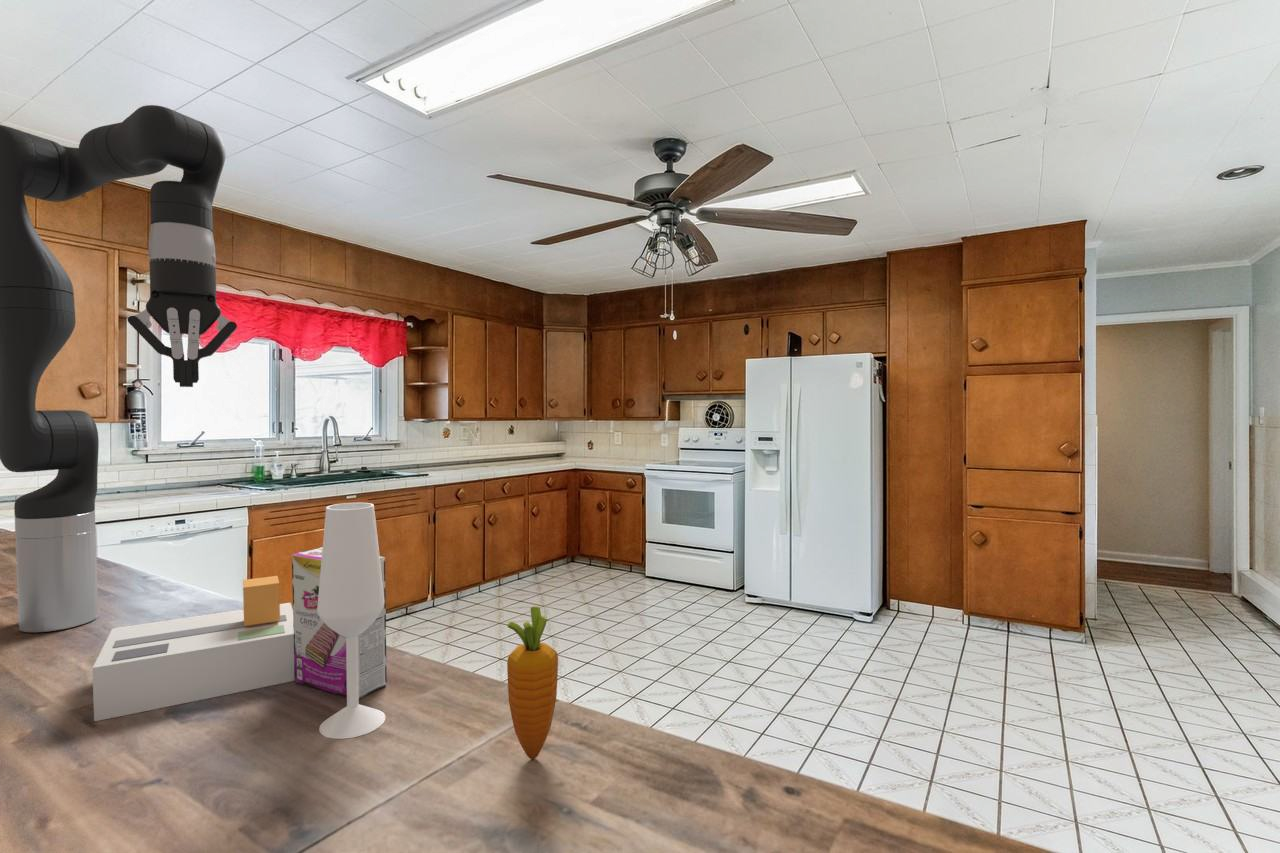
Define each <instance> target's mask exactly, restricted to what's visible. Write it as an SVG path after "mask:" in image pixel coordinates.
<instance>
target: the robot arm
mask: <svg viewBox="0 0 1280 853" xmlns="http://www.w3.org/2000/svg"><path fill="white" fill-rule="evenodd" d="M225 162H226V147H225V144H224V141H223V138H222V137H221V135H220V134H219V132H218V131H217V130H216V129H215V128H214V127H212V126H211V125H209V124H206V123H205V122H202V121H200V120H197V119H195V118H192V117H191V116H188V115H185V114H183V113H181V112H178V111H176V110H174V109H171V108H169V107H167V106H162V105H157V104H154V105H153V104H150V105H149V104H146V105H142V106H139V107H138V108H137V109H136V110H135V111H134V112H132V113H131V114H130V115H128V116H127V117H126V118H125V119H124V120H123V121H122V122H116V123H111V124H105V125H102V126H99V127H98V126H97V127H95V128H93V129H91V130H89V131H88V132H86V133H85V134H84V135H83V136H82V137H81V139H80V141H79V144H78V147H72V146H71V147H70V146H66V145H61V144H60V143H59V142H56V141H54V140H52V139H48V138H44V137H41V136H38V135H35V134H32V133H29V132H26V131H23V130H21V129H18V128H13V127H10V126H6V125H3V124H0V462H1V464H2V466H4V469H6V470H8V471H10V472H12V473H31V472H45V471H57V474H56V476H55V477H54V479H53V480H52V481H50V482H49V483H47V484H46V485H44V486H42V487H40V488H38V489H35V490H33V491H31V492H27V493H26V494H23V495H20V496H19V497H18V498H16V499H15V501H14V507H13V508H14V531H15V532H14V536H15V556H16V558H15V559H16V560H15V561H16V581H17V582H16V583H17V584H16V586H17V614H18V630H19V631H20V632H24V633H45V632H52V631H53V632H55V631H60V630H65V629H71V628H74V627H77V626H80V625H81V626H82V625H84V624H88V623H90V622H92V621H94V620H95V619H97V618H98V617H99V601H98V600H99V599H98V571H97V570H98V567H97V566H98V565H97V564H98V563H97V562H98V561H97V536H96V534H97V533H96V504H95V503H96V497H97V493H98V471H99V470H98V467H99V466H98V465H99V445H100V444H99V432H98V427H97V424H96V422H95V420H94V418H93V417H92V415H90V414H89V413H88V412H86V411H83V410H77V409H74V410H73V409H67V410H66V409H65V410H64V409H60V410H59V409H58V410H56V409H55V410H53V409H52V410H50V409H49V410H47V409H46V410H36V399H37V392H38V388H39V387H38V386H39V383H40V380H41V378H42V376H43V374H44V372H45V371H46V369H47V368H48V366H49V365H50V364H51V362H52V361H53V360H54V359H55V357H56V356H57V355H58V353H59V352H60V351H61V350H62V349H63V347H64V346H65V345H66V344H67V342H68V340H69V338H71V336H72V334H73V333H74V329H75V327H76V308H75V296H74V295H75V294H74V287H73V283H72V280H71V278H70V276H69V275H68V273H67V271H66V269H64V267H63V266H62V264H61V262H60V261H59V260H58V259H57V258H56V256H55V255H54V254H53V252H52V251H51V250H50V248H49V247H48V246H47V244H46V243H45V242H44V240H43V239H42V238H41V237H40V235H39V233H38V231H37V230H36V229H35V226H34V225H33V222H32V220H31V217H30V214H29V211H28V207H27V203H26V199H25V196H26V197H30V198H34V199H37V200H42V201H46V202H53V203H54V202H55V203H58V202H59V203H60V202H66V201H70V200H73V199H76V198H79V197H81V196H82V195H85V194H86V193H90V192H91V191H93V190H96V189H98V188H100V187H103V186H104V185H106V184H107V185H108V184H109V183H111V182H114V181H119V180H125V179H131V178H138V177H144V176H150V175H153V174H154V175H155V174H157V173H159V172H161V171H163V170H165V169H166V167H167V166H168V165H169V166H172V167H176V168H178V169H182V171H183V172H182V173H183V175H182V178H181V180H178V181H177V180H161V181H156V182H155V183H153V184H152V186H151V188H150V192H149V203H150V204H149V205H150V206H149V207H150V212H149V214H150V230H149V237H148V238H149V239H148V251H147V254H148V255H147V256H148V259H149V260H148V261H149V264H148V265H149V299H148V301H146V303H145V309H144V310H143V311H141V312H138V313H137V314H136V315H130V316H128V318H127V322H128V323H129V325H131V327H132V328H133V329H134V330H135V331H136V333H137V334H139V335H140V337H142V338H143V339H144V340H145V341H146V342H147V344H149V346H151V348H152V349H154V350H155V352H156V353H157V354H160V355H161V356H164V357H165V356H166V357H169V358H171V360H172V369H173V370H172V372H173V373H172V374H173V380H174V382H175V383H177V384H178V383H179V387H180V388H193V387H194V384H197V383H198V382H199V381H200V380H199V379H200V376H199V374H200V373H199V362H200V360H202V359H203V358H207V357H211V356H212V355H214V353H216V352H217V351H218V349H219V348H220V347H221V346H222V345H223V344H224V343H225V342H226V341H227V340H228V339H229V338H230V337H231V336H232V335H233V334H234V333H235V332H236V330H237V329H238V324H237V323H236V322H235V321H233V320H230V319H228V318H227V317H226V316H224V315H223V314H222V311H221V308H220V306H219V305H218V303H217V302H218V301H217V266H216V264H217V258H216V245H215V240H214V225H213V203H214V198H215V196H216V193H217V189H218V185H219V182H220V178H221V174H222V173H223V168H224V166H225ZM151 318H152V319H153V320H154V321H155V322H156V323H157V324H158V325H159V327H160V328H161V329H162V330H163V331H164V332H166V333H167V334H168V335H169V341H170V347H169V346H166V345H165V344H164V343H163V342H162V341H161V340H160V339H159V338H158V337H157V336H156V335H155V333H154V332H152V331H151V330H150V328H152V326H153V325H152V324H153V323H152V322H151ZM216 322H217V323H218V324H217V325H216V330H217V331H218V333H216V335H214V336H213V338H212V339H211V340H210V341H209V342H208V343H207V344H206V345H205V346H204V347H201V348H200V343H201V341H200V340H201V336H202V335H205V334H206V333H207V332H208V330H209V329H211V327H212V326H213V325H214V324H215V323H216ZM183 335H187V350H186V352H187V353H186V355H187V358H186V359H185V352H184V344H183V343H184V342H183Z"/></svg>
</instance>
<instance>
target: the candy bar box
mask: <svg viewBox="0 0 1280 853" xmlns="http://www.w3.org/2000/svg"><path fill="white" fill-rule="evenodd" d="M322 549H323V546H321V547H317V548H313V549H309V550H305V551H299V552H297V553H293V554H291V574H292V575H291V581H292V609H293V631H294V678H295V680H294V681H293V682H295V683H297V684H301V685H305V686H309V687H311V688H315V689H319V690H322V691H326V692H329V693H332V694H336V695H339V696H343V697H346V698H347V668H346V637H344V636H341V635H339V634H338V633H336V632H335V631H334V630H332V629H331V628H329V627H328V626H327V625H326V624H325V623H324V622H323V621H322V620H321V618H320V616H319V615H318V611H317V606H318V594H319V583H320V572H321V560H322ZM380 564H381V573H382V582H383V591H384V600H385V603H384V607H383V609H382V611H381V613H380V614H379V616H378V617H377V619H376V620H375V621H374V622H373V623H372V624H371V625H370V626H369V627H368V628H367V629H366V630H365V631H364V632H363V633H361V634H360V635H358V694H359V700H360V699H363V698H364V697H366V696H368V695H370V694H372V693H373V692H375V691H378V690H379V689H381V688H383V687H385V686H386V685H387V683H388V681H387V678H388V677H387V676H388V675H387V613H386V611H387V610H386V609H387V607H386V606H387V605H386V604H387V603H386V599H387V598H386V596H387V595H386V557H385V556H381V555H380Z"/></svg>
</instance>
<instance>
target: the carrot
mask: <svg viewBox="0 0 1280 853" xmlns="http://www.w3.org/2000/svg"><path fill="white" fill-rule="evenodd" d="M530 618H531V624H530V622H529V621H526V622H523V628H524V629H523V628H522V627H521V626H520V625H519V624H518V623H516V622H514V621H509V622H508V623H507V628H509V629H511V630H512V631H514V633H516V635H518V637H519V638H520V639H521V642H522V644H519V645H517V646H516V647H515V648H514V649H513V650H512V651H511V653H510V654H509V655H508V657H507V660H506V661H507V662H506V667H507V668H506V670H507V693H508V705H509V711H510V715H511V720H512V724H513V729H514V732H515V735H516V737H517V740H518V742H519V744H520V745H521V748H522V750H523V752H524V753H525V755H526V756H527V757H528V758H529V759H530V760H531V761H534V760H535V759H537V757H538V756H539V754H540V753H541V750H542V749H543V747H544V744H546V743H545V742H546V741H547V738H548V735H549V732H550V730H551V726H552V722H553V717H554V713H555V708H556V703H557V702H556V701H557V695H558V694H557V693H558V678H559V677H558V674H559V656H558V652H557V651H556V650H555V649H554V648H553V647H551V646H550V645H548V644H547V643H544V642H541V638H542V635H543V633H544V631H545V628H546V625H547V622H548V619H547V617H546V616H544V615H542V612H541V608H540V607H539V606H537V605H534V606H532V607H530Z"/></svg>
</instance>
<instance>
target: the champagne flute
mask: <svg viewBox="0 0 1280 853" xmlns="http://www.w3.org/2000/svg"><path fill="white" fill-rule="evenodd" d="M323 528H324V529H323V539H322V547H323V549H322V560H321V572H320V583H319V594H318V606H317V611H318V615H319V616H320V618H321V620H322V621H323V622H324V623H325V624H326V625H327V626H328V627H329V628H331V629H332V630H334V631H335V632H336V633H338V634H339V635H341V636H344V637H346V668H347V697H346V706H345V707H343V708H341V709H340V710H338V711H337V712H336V713H335V712H334V714H332V715H331V716H329V717H327V718H326V719H325V720H324V721H323V722H322V723H321V724H320V725H319V728H318V730H319V733H320V734H321V735H322V736H323V737H325V738H329V739H338V740H341V739H342V740H343V739H352V738H356V737H357V738H358V737H360V736H364V735H367V734H369V733H371V732H373V731H375V730H377V729H378V728H380V727H381V726H382V725H383V724H384V722H385V721H386V714H385V713H384V712H383V711H381V710H379V709H377V708H373V707H370V706H366V705H363V704H360V702H359V700H360V699H359V694H358V635H360V634H361V633H363V632H364V631H365V630H366V629H367V628H368V627H369V626H370V625H371V624H372V623H373V622H374V621H375V620H376V619H377V617H378V616H379V614H380V613H381V611H382V609H383V607H384V603H385V600H384V591H383V582H382V573H381V564H380V556H381V555H380V548H379V539H378V532H377V531H378V530H377V520H376V513H375V505H374V503H370V502H346V503H345V502H344V503H336V504H331V505H328V506H326V507H325V517H324V527H323Z"/></svg>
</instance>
